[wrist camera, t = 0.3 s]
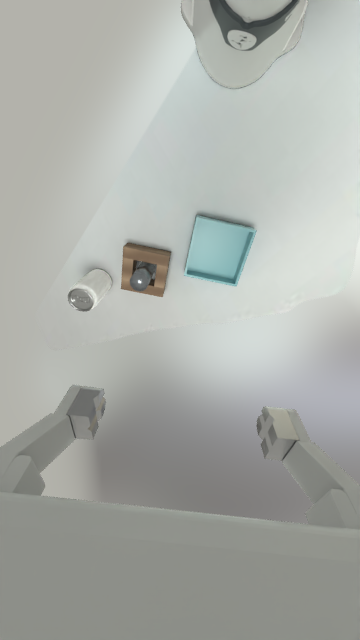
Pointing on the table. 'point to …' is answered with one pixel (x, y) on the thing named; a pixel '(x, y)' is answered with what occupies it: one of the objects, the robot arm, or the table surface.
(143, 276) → the pin
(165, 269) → the pin block
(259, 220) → the table surface
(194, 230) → the tray
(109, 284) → the can
